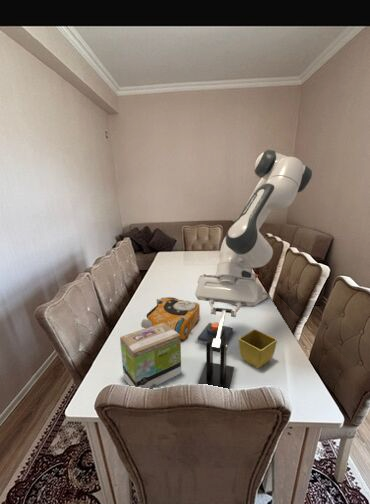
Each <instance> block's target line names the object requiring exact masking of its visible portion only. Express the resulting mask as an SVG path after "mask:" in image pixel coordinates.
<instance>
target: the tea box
mask: <svg viewBox="0 0 370 504" xmlns="http://www.w3.org/2000/svg"><path fill="white" fill-rule="evenodd" d="M119 339H120V351H121V353H120V354H121V364H122V374H123V379H124V380H125V382H126V383H127V384H128V386H129V385H130V386H135V387H141V388H151V389H153V388H155V387H156V386H158V385H160V384H163V383H165V382H167V381H168V380H170V379H172V378H175V377H176V376H178V375H181V374H182V342H181V341H182V339H181V337H180V334H179V333H177V332H176V331H175V330H173V329H172V328H171V327H169V326H168V325H167V324H165V323H164V322H163V323H160V324H157V325H154V326H151V327H148V328H142V329H139V330H137V331H134V332H131V333H128V334H125V335H122V336H120V337H119ZM130 386H129V387H130Z"/></svg>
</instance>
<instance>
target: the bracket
mask: <svg viewBox="0 0 370 504" xmlns="http://www.w3.org/2000/svg"><path fill="white" fill-rule="evenodd" d="M227 342H228V339H227V337H223V340H222V343H221V350H220V355H219V356H220V357H219V358H220V361H219V363H216V362H214V351H212V343H213V335H210V336H209V338H208V340H207V342H205V348H206V349H205V351H206V354H205V355H206V357H205V358H206V360H205V364H204V365H203V366H204V367H203V370H202V371H201V375H200V377H199V379H198V383H197V385H198V384H208V385H213V386H218V387H223V388H228V389H229V390H230V389H231V384H232V379H233V375H234V370H235V366H232V365H227V350H228V346H229V345H228V343H227Z"/></svg>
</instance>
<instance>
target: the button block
mask: <svg viewBox="0 0 370 504" xmlns="http://www.w3.org/2000/svg"><path fill="white" fill-rule="evenodd" d="M212 323H213V322H208V324H207V325H206V326H205V328H204V329H202V331H201V332H200V334H198V336H197V340H198V341H201V342H205V343H206V342H207V340H208V338H209V336H210V335H213V339H214V338H215V339H216V336H217V332H218V331H213V330H211V324H212ZM233 332H234V328H233V327H231V326H226V325H223V328H222V333H221V338H220V339H221V343H222V340H223V337H227V340H228V339H229V338H230V336H231V335H232V334H233Z"/></svg>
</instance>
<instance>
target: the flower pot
mask: <svg viewBox="0 0 370 504" xmlns="http://www.w3.org/2000/svg"><path fill="white" fill-rule="evenodd" d="M277 342H278V339H277V338H275V337H273V336H270V334H269V335H268V334H266V333H264V332H262V331H260V330H258V329H252V330H251V331H249V332H247V333H246V334H244V335H242V336H240V337H239V338H238V347H239V353H240V356H241V357H242V359H243V360H244V361H245V362H247V363H249V364H250V365H251V366H254V367H255V368H257V369H260V368H262V367H263V366H264V365H265V364H267V363H268V362H269V361H270V360H271V359H272V357H273V356H274V354H275V350H276V347H277Z"/></svg>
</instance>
